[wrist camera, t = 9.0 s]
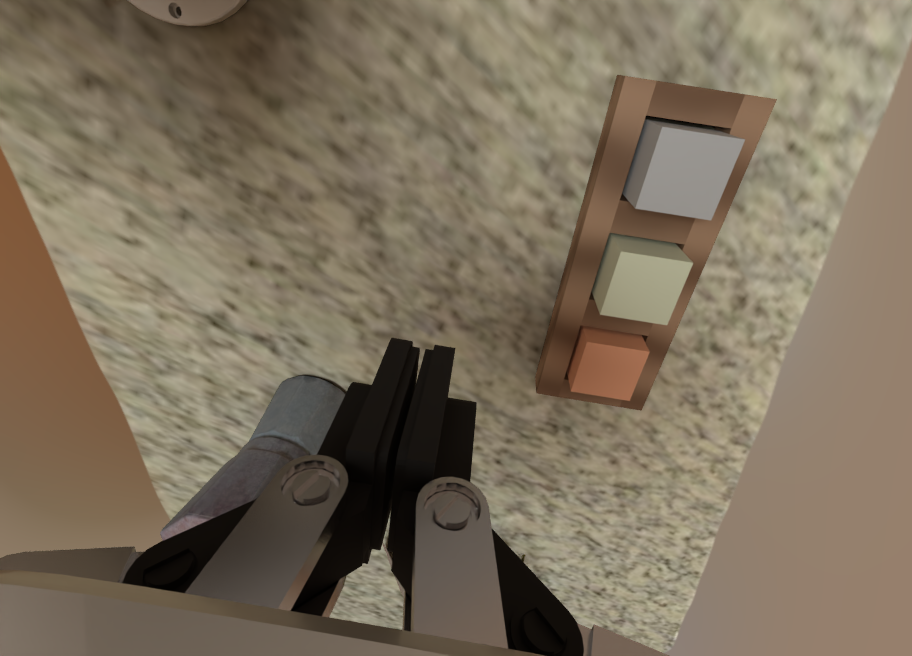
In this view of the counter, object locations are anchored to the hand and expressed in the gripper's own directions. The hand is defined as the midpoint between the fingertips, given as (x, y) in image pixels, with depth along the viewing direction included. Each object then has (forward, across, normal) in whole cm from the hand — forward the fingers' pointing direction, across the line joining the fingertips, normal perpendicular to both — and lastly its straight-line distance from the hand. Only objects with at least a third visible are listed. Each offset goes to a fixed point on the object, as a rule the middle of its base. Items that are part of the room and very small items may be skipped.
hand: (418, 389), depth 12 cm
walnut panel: (+27, -13, +5) cm, 31 cm away
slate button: (+26, -13, -3) cm, 29 cm away
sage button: (+26, -13, +5) cm, 29 cm away
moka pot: (+27, +13, +26) cm, 40 cm away
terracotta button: (+27, -13, +13) cm, 32 cm away
